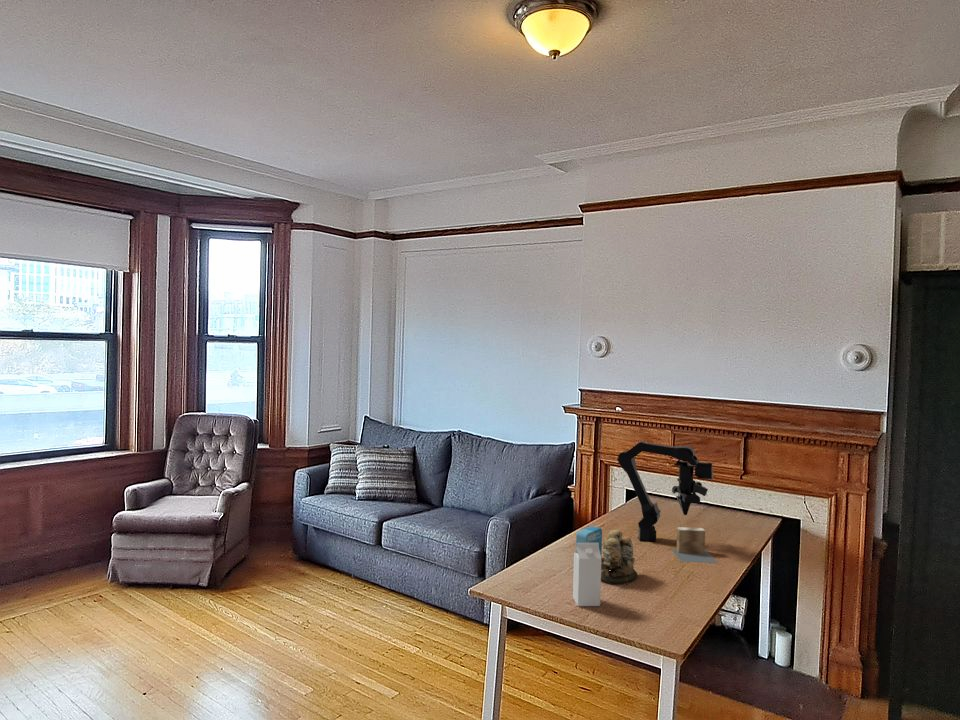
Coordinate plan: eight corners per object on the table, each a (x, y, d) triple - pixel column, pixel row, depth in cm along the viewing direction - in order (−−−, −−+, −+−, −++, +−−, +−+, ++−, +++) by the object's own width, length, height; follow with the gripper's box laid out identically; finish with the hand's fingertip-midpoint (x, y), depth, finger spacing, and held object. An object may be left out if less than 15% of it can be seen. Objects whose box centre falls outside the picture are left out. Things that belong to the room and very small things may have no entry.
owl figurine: (620, 589, 216) (621, 539, 216) (590, 581, 224) (590, 532, 223) (644, 575, 230) (645, 527, 230) (614, 567, 237) (615, 521, 237)
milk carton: (572, 597, 208) (574, 539, 207) (594, 597, 208) (595, 539, 208) (577, 606, 200) (579, 546, 200) (600, 606, 201) (601, 546, 201)
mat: (680, 563, 244) (680, 561, 244) (670, 550, 259) (670, 549, 259) (718, 564, 243) (718, 562, 243) (705, 551, 258) (705, 550, 258)
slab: (678, 553, 254) (679, 529, 254) (676, 550, 257) (677, 527, 257) (704, 553, 254) (705, 530, 253) (701, 551, 257) (702, 528, 257)
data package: (585, 566, 238) (586, 534, 238) (575, 563, 241) (576, 531, 241) (601, 558, 247) (602, 527, 247) (591, 555, 250) (592, 525, 250)
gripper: (713, 482, 254) (712, 521, 255) (698, 473, 273) (697, 509, 273) (685, 481, 255) (684, 520, 255) (672, 472, 273) (671, 509, 274)
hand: (685, 514), depth 264 cm, fingers closed
